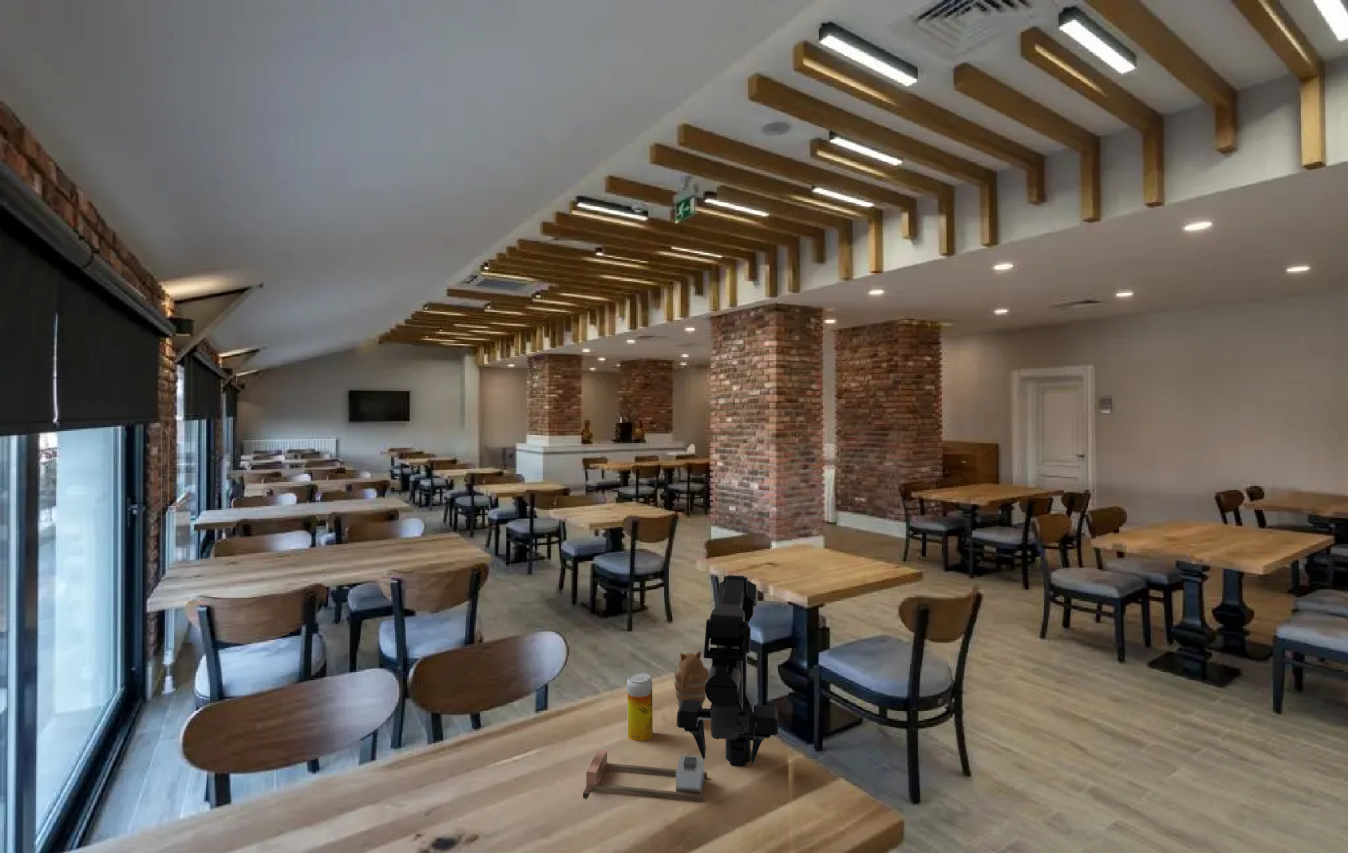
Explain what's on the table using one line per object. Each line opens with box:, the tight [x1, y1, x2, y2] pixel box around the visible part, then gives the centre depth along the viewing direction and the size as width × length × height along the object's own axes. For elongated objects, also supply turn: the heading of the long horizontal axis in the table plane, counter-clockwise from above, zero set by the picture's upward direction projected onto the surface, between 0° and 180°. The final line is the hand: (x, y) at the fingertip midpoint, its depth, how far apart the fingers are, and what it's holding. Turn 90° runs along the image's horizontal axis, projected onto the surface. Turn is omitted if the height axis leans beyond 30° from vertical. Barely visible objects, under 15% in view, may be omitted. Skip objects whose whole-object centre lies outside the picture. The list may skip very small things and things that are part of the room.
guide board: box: [582, 749, 708, 803], centre depth 131 cm, size 10×25×5 cm, turn 80°
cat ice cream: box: [674, 650, 710, 708], centre depth 158 cm, size 9×8×18 cm
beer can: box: [626, 672, 654, 742], centre depth 150 cm, size 6×6×15 cm
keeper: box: [675, 754, 705, 794], centre depth 129 cm, size 6×5×6 cm
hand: (728, 759), depth 118 cm, fingers open, 9 cm apart
